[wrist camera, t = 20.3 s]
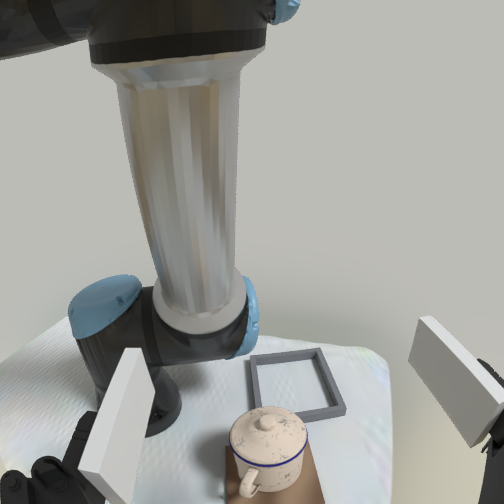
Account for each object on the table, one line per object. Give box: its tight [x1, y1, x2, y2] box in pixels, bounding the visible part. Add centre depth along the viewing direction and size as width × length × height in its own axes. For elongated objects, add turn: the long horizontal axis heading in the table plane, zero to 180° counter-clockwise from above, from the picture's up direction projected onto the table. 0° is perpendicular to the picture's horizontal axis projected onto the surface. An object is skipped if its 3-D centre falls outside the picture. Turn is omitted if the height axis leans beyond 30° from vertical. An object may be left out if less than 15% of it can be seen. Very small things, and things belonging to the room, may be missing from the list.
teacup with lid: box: [229, 407, 308, 498], centre depth 30 cm, size 12×9×12 cm
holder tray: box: [250, 348, 347, 423], centre depth 49 cm, size 14×17×2 cm
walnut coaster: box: [226, 439, 325, 504], centre depth 32 cm, size 12×12×1 cm
